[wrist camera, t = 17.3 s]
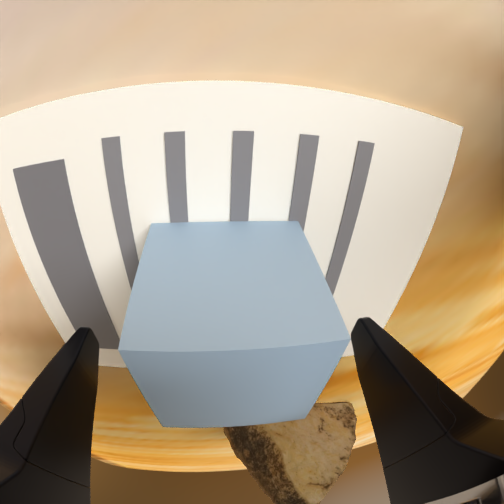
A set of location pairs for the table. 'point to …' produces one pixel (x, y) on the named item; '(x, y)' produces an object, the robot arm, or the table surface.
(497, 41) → the table surface
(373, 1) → the table surface
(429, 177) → the letter
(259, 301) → the cube
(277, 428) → the rock
